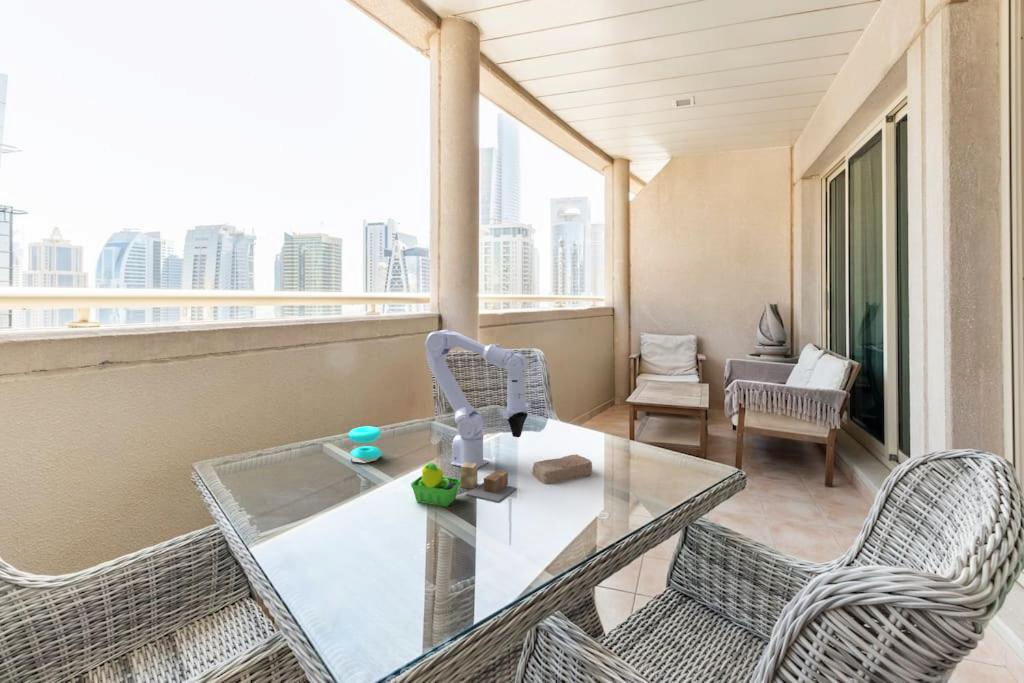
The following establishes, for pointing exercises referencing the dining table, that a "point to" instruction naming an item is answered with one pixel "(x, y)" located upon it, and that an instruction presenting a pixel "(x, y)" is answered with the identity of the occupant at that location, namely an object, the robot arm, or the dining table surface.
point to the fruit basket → (435, 486)
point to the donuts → (365, 436)
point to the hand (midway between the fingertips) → (516, 436)
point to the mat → (494, 497)
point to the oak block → (468, 475)
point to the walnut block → (495, 481)
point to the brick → (562, 469)
